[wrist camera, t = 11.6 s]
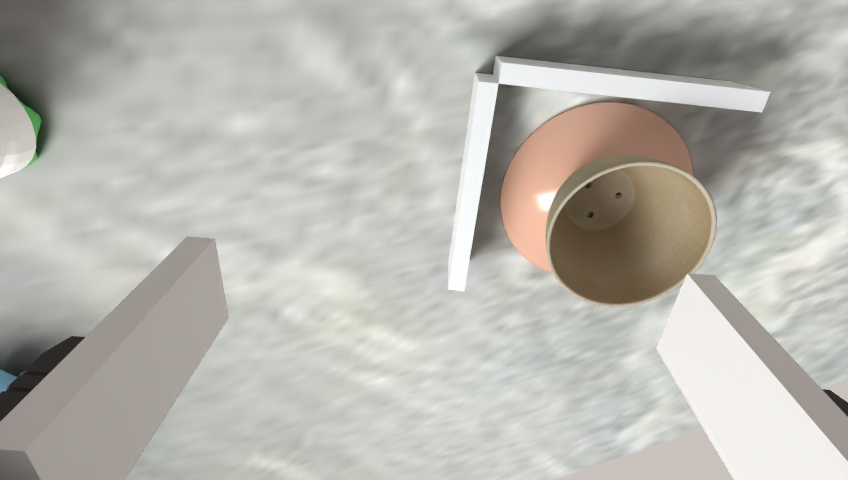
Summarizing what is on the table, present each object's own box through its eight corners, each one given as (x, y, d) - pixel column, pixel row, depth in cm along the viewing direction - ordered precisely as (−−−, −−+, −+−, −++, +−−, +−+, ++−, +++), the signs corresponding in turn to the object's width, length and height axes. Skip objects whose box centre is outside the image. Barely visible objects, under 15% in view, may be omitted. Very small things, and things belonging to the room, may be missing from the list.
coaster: (519, 91, 32) (520, 92, 31) (720, 113, 32) (723, 114, 31) (486, 265, 38) (487, 268, 38) (654, 283, 38) (656, 286, 38)
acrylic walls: (477, 53, 31) (482, 60, 27) (733, 81, 31) (770, 92, 27) (448, 262, 38) (448, 289, 35) (654, 284, 38) (675, 313, 35)
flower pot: (597, 101, 31) (636, 126, 25) (695, 184, 34) (753, 227, 27) (501, 208, 35) (513, 254, 29) (595, 276, 38) (625, 332, 31)
